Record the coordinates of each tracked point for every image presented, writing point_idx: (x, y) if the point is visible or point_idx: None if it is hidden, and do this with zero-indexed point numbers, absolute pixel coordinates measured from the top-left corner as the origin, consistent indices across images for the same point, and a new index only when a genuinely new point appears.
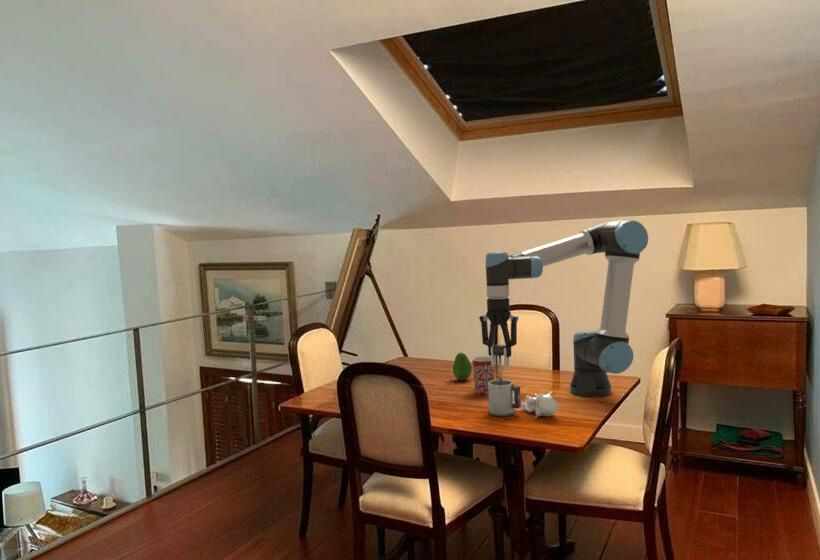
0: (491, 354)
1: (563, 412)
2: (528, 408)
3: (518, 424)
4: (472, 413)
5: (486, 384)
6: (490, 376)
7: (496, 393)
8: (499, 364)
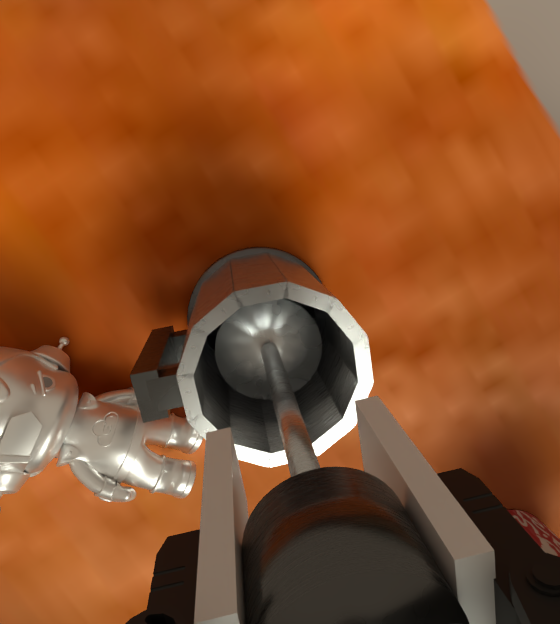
0: (424, 471)
1: None
2: None
3: (69, 188)
4: (386, 230)
5: None
6: None
7: (255, 274)
8: (302, 447)
